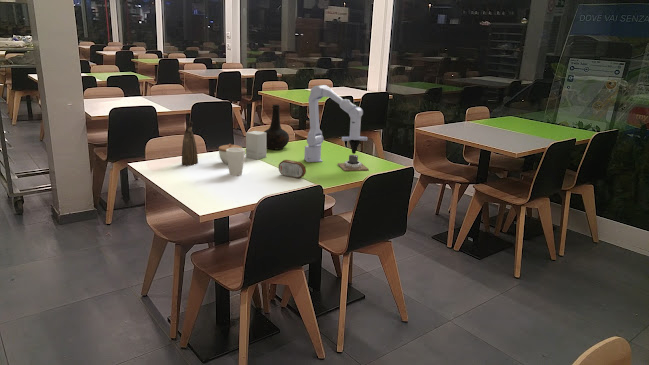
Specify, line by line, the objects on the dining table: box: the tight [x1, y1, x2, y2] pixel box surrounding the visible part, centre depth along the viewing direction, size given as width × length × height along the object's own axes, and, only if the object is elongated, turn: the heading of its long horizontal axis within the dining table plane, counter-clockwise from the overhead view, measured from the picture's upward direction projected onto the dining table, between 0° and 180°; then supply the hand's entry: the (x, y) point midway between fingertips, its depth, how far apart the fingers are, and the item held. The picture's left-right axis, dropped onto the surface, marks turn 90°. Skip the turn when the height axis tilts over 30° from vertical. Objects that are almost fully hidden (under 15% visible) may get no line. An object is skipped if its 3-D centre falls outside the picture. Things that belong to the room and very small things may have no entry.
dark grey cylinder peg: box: [348, 154, 359, 164], centre depth 272 cm, size 5×5×6 cm
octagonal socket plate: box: [337, 159, 370, 172], centre depth 273 cm, size 14×14×3 cm
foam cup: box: [226, 147, 246, 177], centre depth 249 cm, size 10×9×13 cm
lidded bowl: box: [218, 143, 243, 165], centre depth 270 cm, size 13×13×11 cm
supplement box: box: [245, 130, 267, 160], centre depth 285 cm, size 9×9×15 cm
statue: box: [181, 119, 199, 166], centre depth 263 cm, size 9×8×25 cm
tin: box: [278, 159, 307, 179], centre depth 249 cm, size 15×3×8 cm, turn 65°
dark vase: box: [263, 104, 290, 150], centre depth 308 cm, size 18×18×28 cm
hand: (353, 153), depth 271 cm, fingers closed
